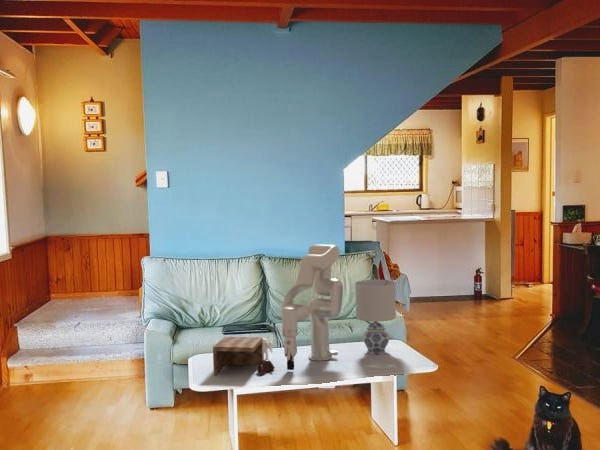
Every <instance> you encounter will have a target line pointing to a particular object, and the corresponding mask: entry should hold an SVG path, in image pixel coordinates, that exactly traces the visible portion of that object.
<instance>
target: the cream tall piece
mask: <svg viewBox="0 0 600 450" xmlns="http://www.w3.org/2000/svg"><path fill="white" fill-rule="evenodd" d="M269 338H270V336H269V335H268V336H267V337H262V342H263V360H269V361H270V358H269V352H270V353H271V354H272V353H273V349H272V347H273V346H274V343H273V341H269V340H268V339H269ZM268 349H269V351H268Z"/></svg>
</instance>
